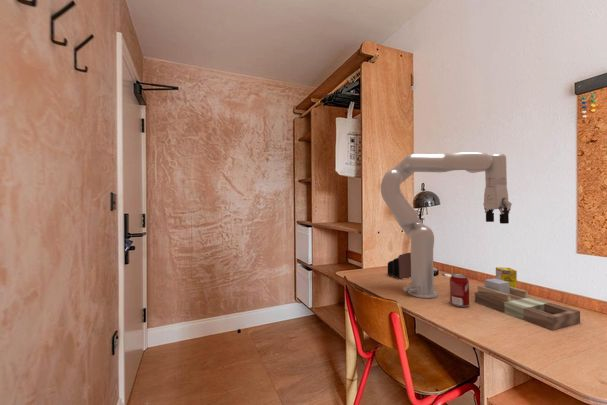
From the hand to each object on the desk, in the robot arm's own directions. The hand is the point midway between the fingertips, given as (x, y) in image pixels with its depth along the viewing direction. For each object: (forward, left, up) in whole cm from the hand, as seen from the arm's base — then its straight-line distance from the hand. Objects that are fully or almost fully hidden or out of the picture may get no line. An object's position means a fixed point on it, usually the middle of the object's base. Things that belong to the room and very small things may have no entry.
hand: (496, 222), depth 117 cm
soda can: (-22, +1, -33) cm, 39 cm away
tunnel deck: (-6, -13, -33) cm, 36 cm away
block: (-6, -3, -29) cm, 29 cm away
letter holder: (-11, +44, -33) cm, 56 cm away
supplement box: (+10, +4, -33) cm, 35 cm away
